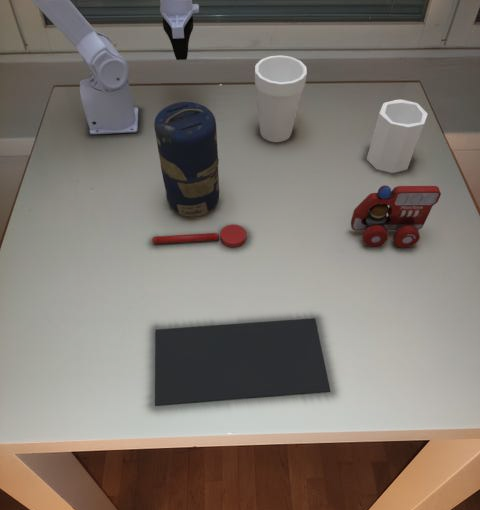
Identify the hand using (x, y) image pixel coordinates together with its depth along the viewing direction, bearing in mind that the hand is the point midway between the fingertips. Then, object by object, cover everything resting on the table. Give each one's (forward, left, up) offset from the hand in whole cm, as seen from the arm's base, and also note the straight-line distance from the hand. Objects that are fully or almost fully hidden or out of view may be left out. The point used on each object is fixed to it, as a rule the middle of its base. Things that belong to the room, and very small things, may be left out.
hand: (181, 58), depth 94 cm
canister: (0, -31, -10) cm, 32 cm away
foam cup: (+18, -12, -10) cm, 24 cm away
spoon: (+2, -40, -9) cm, 41 cm away
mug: (+39, -20, -10) cm, 45 cm away
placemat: (+6, -64, -9) cm, 64 cm away
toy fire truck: (+33, -41, -10) cm, 53 cm away
